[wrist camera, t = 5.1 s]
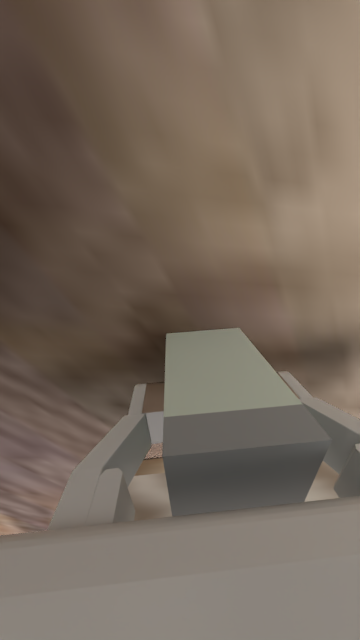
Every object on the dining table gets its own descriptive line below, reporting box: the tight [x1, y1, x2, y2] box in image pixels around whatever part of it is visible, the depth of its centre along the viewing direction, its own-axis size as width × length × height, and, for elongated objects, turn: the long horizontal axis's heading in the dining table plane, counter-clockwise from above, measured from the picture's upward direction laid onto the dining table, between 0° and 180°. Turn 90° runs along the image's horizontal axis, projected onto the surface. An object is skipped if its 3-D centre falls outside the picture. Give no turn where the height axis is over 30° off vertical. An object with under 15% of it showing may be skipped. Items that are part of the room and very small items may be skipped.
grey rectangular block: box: [162, 328, 332, 516], centre depth 8 cm, size 4×4×6 cm
